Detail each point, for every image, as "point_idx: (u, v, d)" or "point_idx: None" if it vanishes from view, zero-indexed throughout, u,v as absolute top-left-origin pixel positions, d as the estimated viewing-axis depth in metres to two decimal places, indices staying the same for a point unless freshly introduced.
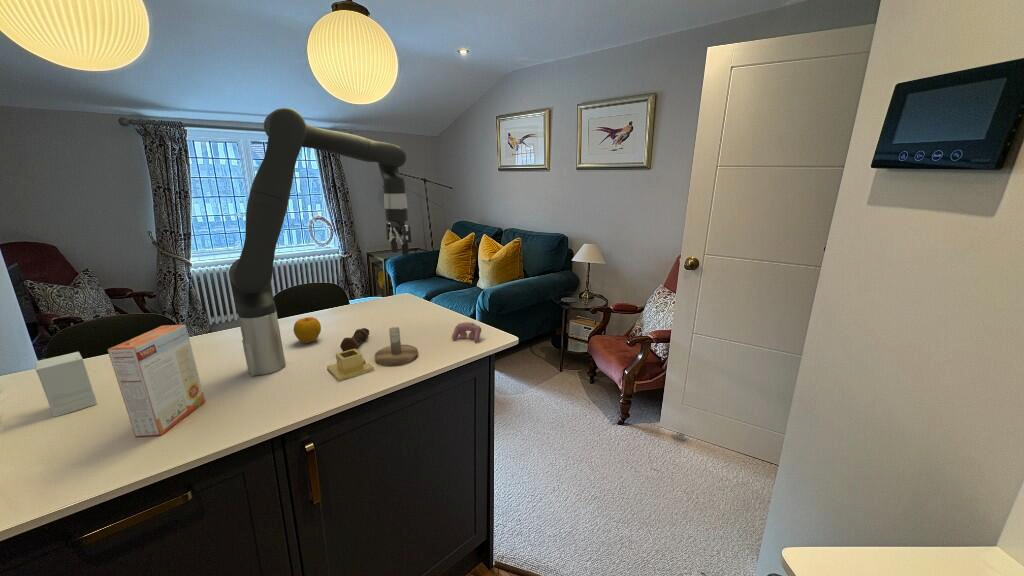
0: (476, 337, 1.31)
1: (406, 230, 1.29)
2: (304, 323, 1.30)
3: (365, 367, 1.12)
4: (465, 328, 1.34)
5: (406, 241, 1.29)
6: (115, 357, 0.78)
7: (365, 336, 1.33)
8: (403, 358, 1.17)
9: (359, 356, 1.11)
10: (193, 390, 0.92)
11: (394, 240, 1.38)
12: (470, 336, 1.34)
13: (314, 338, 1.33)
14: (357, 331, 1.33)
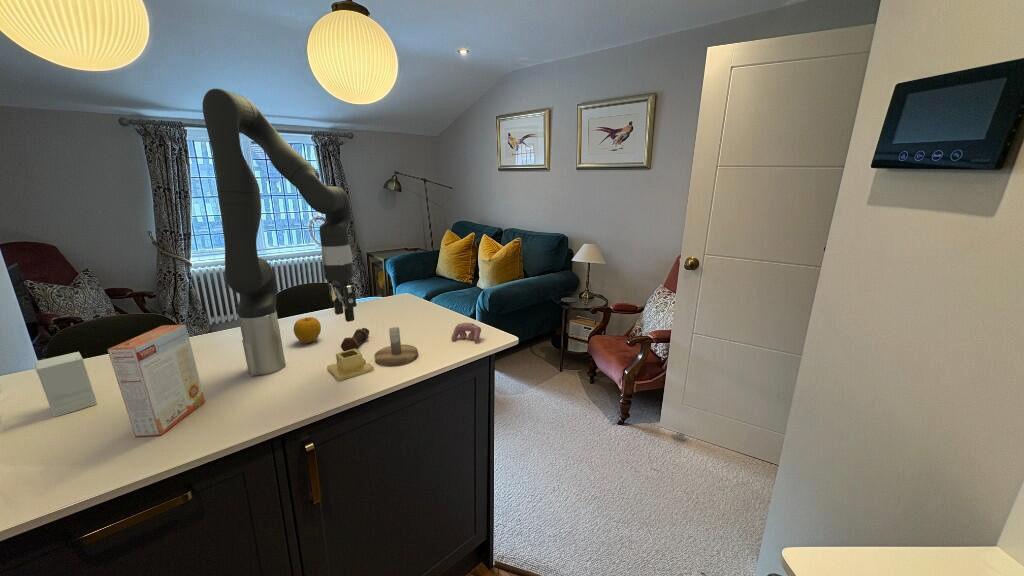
0: (476, 337, 1.31)
1: (349, 292, 1.02)
2: (304, 323, 1.30)
3: (365, 367, 1.12)
4: (465, 328, 1.34)
5: (349, 306, 1.03)
6: (115, 357, 0.78)
7: (365, 336, 1.33)
8: (403, 358, 1.17)
9: (359, 356, 1.11)
10: (193, 390, 0.92)
11: (338, 299, 1.11)
12: (470, 336, 1.34)
13: (314, 338, 1.33)
14: (357, 331, 1.33)
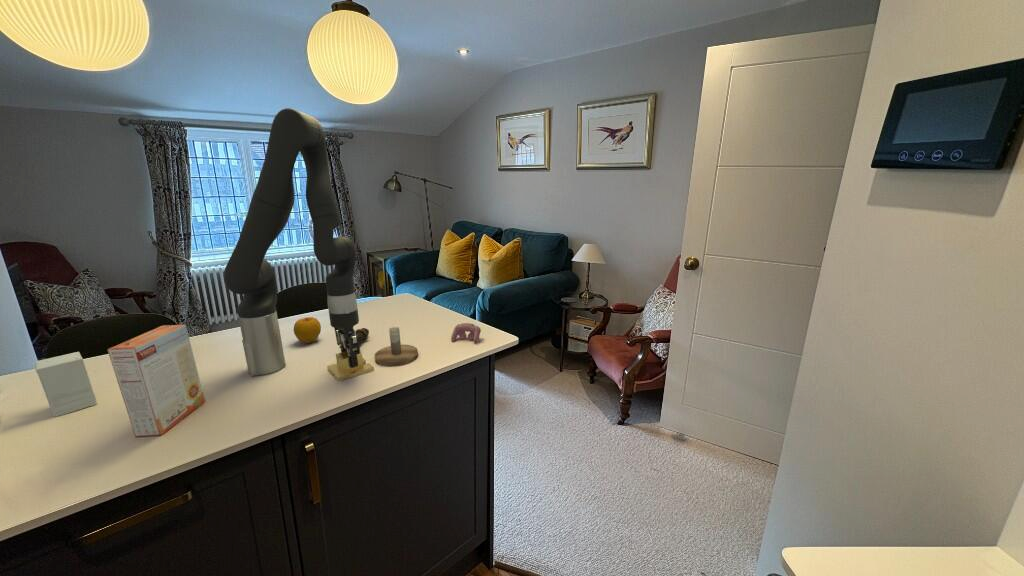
0: (475, 338, 1.31)
1: (354, 342, 1.06)
2: (304, 323, 1.30)
3: (365, 367, 1.12)
4: (464, 329, 1.33)
5: (353, 354, 1.07)
6: (115, 357, 0.78)
7: (365, 336, 1.33)
8: (403, 358, 1.17)
9: (359, 356, 1.11)
10: (193, 390, 0.92)
11: None
12: (469, 337, 1.34)
13: (314, 338, 1.33)
14: (357, 331, 1.33)
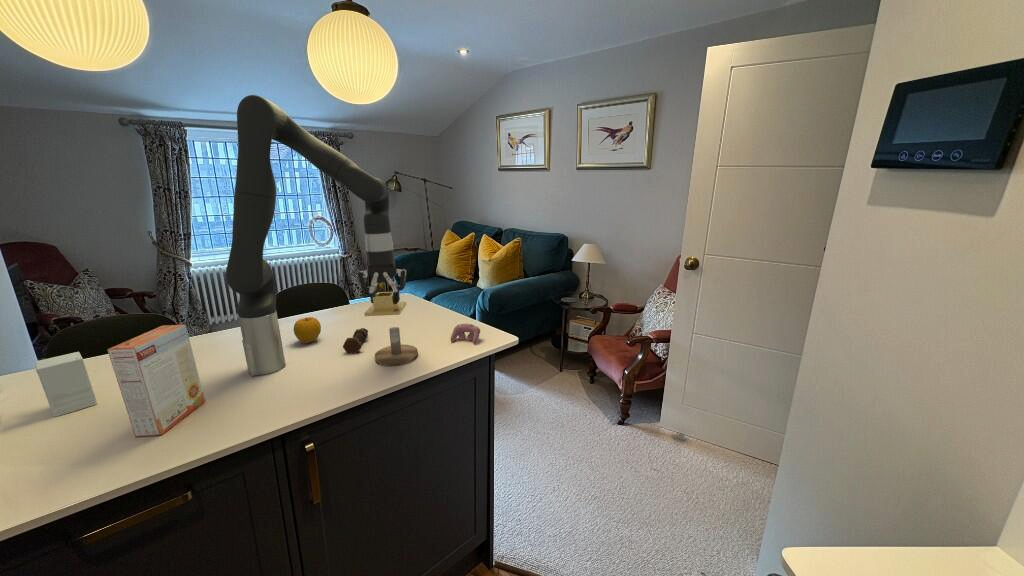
0: (475, 338, 1.30)
1: (405, 275, 1.14)
2: (304, 323, 1.30)
3: (400, 303, 1.19)
4: (464, 329, 1.33)
5: (403, 287, 1.14)
6: (115, 357, 0.78)
7: (365, 336, 1.33)
8: (403, 358, 1.17)
9: None
10: (193, 390, 0.92)
11: (374, 290, 1.15)
12: (469, 337, 1.33)
13: (314, 338, 1.33)
14: (357, 331, 1.33)
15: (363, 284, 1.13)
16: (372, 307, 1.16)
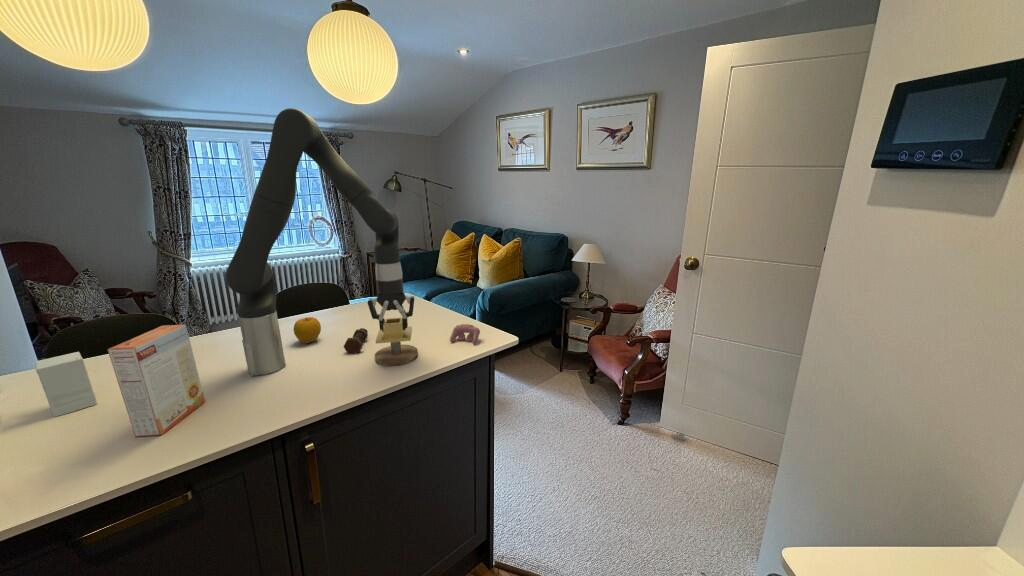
0: (474, 339, 1.30)
1: None
2: (304, 323, 1.30)
3: (407, 328, 1.23)
4: (463, 330, 1.32)
5: None
6: (115, 357, 0.78)
7: (365, 336, 1.33)
8: (403, 358, 1.17)
9: None
10: (193, 390, 0.92)
11: None
12: (468, 338, 1.33)
13: (314, 338, 1.33)
14: (357, 331, 1.33)
15: (373, 312, 1.15)
16: (380, 333, 1.19)
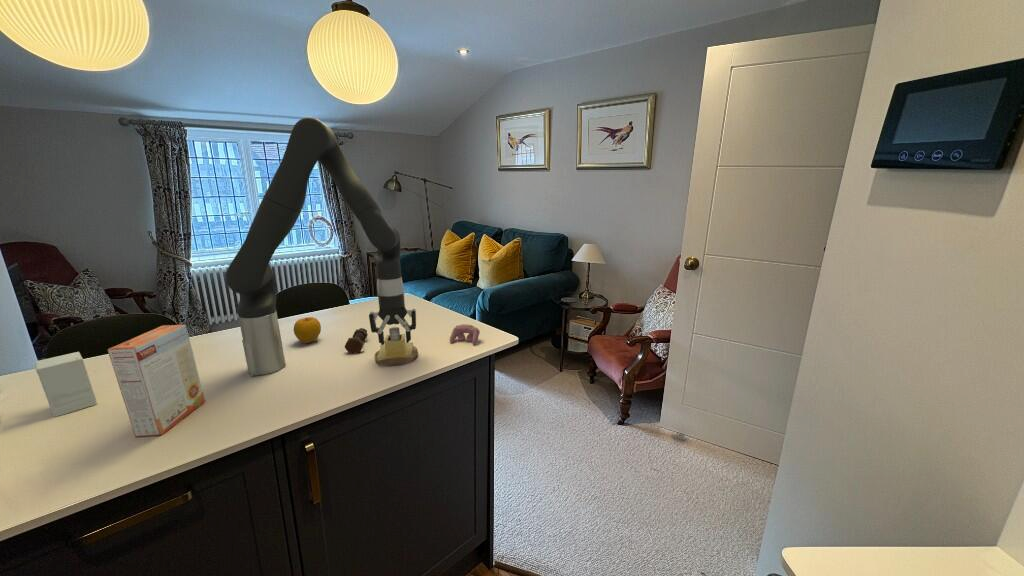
0: (474, 339, 1.29)
1: None
2: (304, 323, 1.30)
3: (408, 344, 1.24)
4: (463, 330, 1.32)
5: (415, 326, 1.20)
6: (115, 357, 0.78)
7: (365, 336, 1.34)
8: (403, 358, 1.17)
9: (404, 336, 1.22)
10: (193, 390, 0.92)
11: (382, 330, 1.19)
12: (468, 338, 1.32)
13: (314, 338, 1.33)
14: (357, 331, 1.33)
15: (372, 325, 1.16)
16: (382, 350, 1.20)
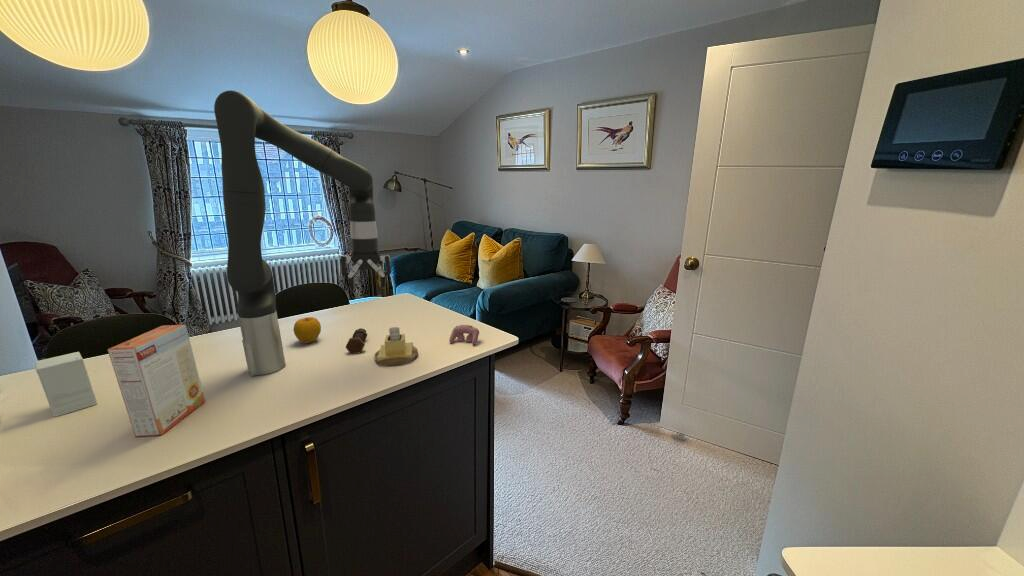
0: (474, 340, 1.29)
1: None
2: (304, 323, 1.30)
3: (408, 344, 1.24)
4: (463, 331, 1.32)
5: (390, 272, 1.18)
6: (115, 357, 0.78)
7: (365, 336, 1.34)
8: (403, 358, 1.17)
9: (404, 336, 1.22)
10: (193, 390, 0.92)
11: (353, 275, 1.17)
12: (468, 339, 1.32)
13: (314, 338, 1.33)
14: (356, 331, 1.33)
15: (343, 268, 1.15)
16: (382, 350, 1.20)
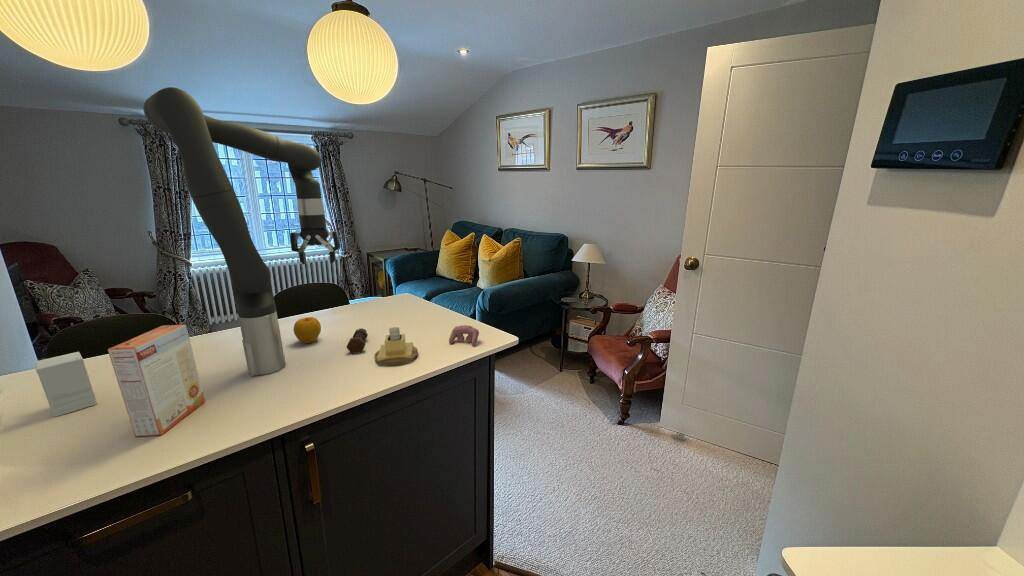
0: (474, 340, 1.29)
1: (337, 236, 1.25)
2: (304, 323, 1.30)
3: (408, 344, 1.24)
4: (462, 331, 1.31)
5: (339, 247, 1.26)
6: (115, 357, 0.78)
7: (365, 336, 1.34)
8: (403, 358, 1.17)
9: (404, 336, 1.22)
10: (193, 390, 0.92)
11: (303, 250, 1.25)
12: (467, 339, 1.32)
13: (314, 338, 1.33)
14: (357, 331, 1.33)
15: (293, 244, 1.22)
16: (382, 350, 1.20)
